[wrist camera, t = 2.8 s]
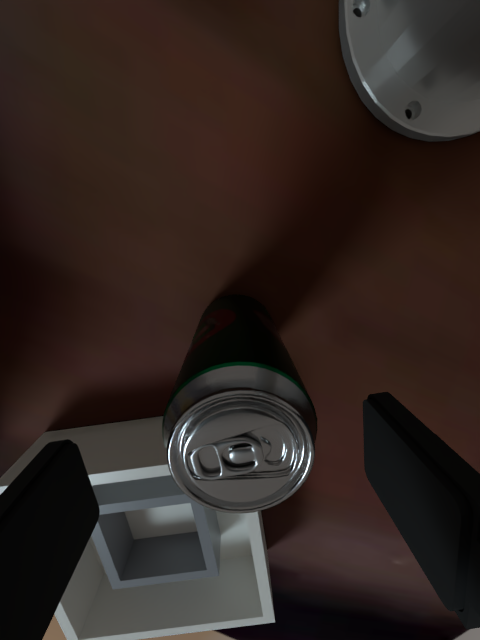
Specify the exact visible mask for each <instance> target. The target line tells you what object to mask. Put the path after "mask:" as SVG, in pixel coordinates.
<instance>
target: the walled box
mask: <svg viewBox="0 0 480 640" xmlns="http://www.w3.org/2000/svg"><path fill="white" fill-rule="evenodd" d="M162 422H163V416H160V417H152V418H145V419H138V420H130V421H123V422H116V423H108V424H101V425H94V426H86V427H79V428H72V429H64V430H57V431H49V432H44V433H43V434H42V435H41V437H40V438H39V439H38V440H37V441H36V442H35V443H34V444H33V445H32V446H31V447H30V448H29V449H28V450H27V451H26V452H25V453H24V454H23V455H22V456H21V457H20V458H19V459H18V460H17V461H16V462H15V463H14V464H13V465H12V467H11V468H10V469H9V470H8V471H7V472H6V473H5V474H4V475H3V476H2V477H1V478H0V495H1V493H2V492H3V491H4V490H5V489H6V488H7V487H8V486H9V485H10V484H11V482H12V481H13V480H14V479H15V478H16V477H17V476H18V475H19V474H20V473H21V472H22V470H23V469H24V468H25V467H26V466H27V465H28V464H29V463H30V462H31V461H32V459H33V458H34V457H35V456H36V455H37V454H38V453H39V452H40V451H41V450H42V449H43V447H44V446H45V445H46V444H48V443H49V442H53V441H60V440H66V439H69V440H71V441H72V442H73V443H76V444H77V445H78V447H79V450H80V453H81V456H82V459H83V462H84V465H85V468H86V470H87V473H88V476H89V479H90V482H91V485H92V488H93V491H94V494H95V496H96V499H97V502H98V505H99V509H100V514H99V519H98V522H97V524H96V526H95V528H94V530H93V532H92V535H91V537H90V539H89V541H88V543H87V545H86V547H85V549H84V552H83V554H82V556H81V558H80V560H79V562H78V564H77V566H76V569H75V571H74V573H73V575H72V577H71V579H70V581H69V583H68V586H67V588H66V590H65V592H64V594H63V596H62V598H61V600H60V603H59V605H58V607H57V609H56V611H55V613H54V614H55V616H56V618H57V620H58V622H59V624H60V626H61V628H62V630H63V632H64V634H65V636H66V638H67V640H137V639H145V638H153V637H161V636H169V635H177V634H185V633H193V632H201V631H208V630H217V629H225V628H233V627H241V626H249V625H257V624H265V623H273V622H275V617H274V608H273V599H272V590H271V581H270V572H269V563H268V554H267V547H266V540H265V534H264V527H263V521H262V514H261V511H257V512H252V513H243V514H242V513H226V512H220V511H216V510H212V509H210V508H207V507H205V506H202V505H200V504H199V503H197V502H195V501H193V500H192V499H191V498H189V497H188V496H187V495H186V494H184V492H183V491H182V490H181V489H180V488H179V487H178V486H177V484H176V483H175V481H174V480H173V478H172V476H171V473H170V471H169V468H168V463H167V452H166V448H165V446H164V441H163V436H162Z"/></svg>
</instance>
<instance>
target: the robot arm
mask: <svg viewBox="0 0 480 640" xmlns="http://www.w3.org/2000/svg"><path fill="white" fill-rule="evenodd" d="M339 34H340V41H341V48H342V54H343V59H344V62H345V65H346V68H347V71H348V74H349V77H350V80H351V82H352V84H353V86H354V88H355V89H356V91H357V93H358V95H359V97H360V99H361V101H362V102H363V103H364V104H365V105H366V107H367V108H368V109H369V110H370V111H371V113H372V114H373V115H374V116H375V117H376V118H377V119H378V120H380V121H381V122H382V123H384V124H385V125H386V126H387V127H389V128H390V129H391V130H393V131H396V132H398V133H400V134H402V135H405V136H407V137H409V138H413V139H418V140H424V141H429V142H431V141H451V140H455V139H458V138H462V137H466V136H470V135H473V134H475V133H477V132H479V131H480V0H339ZM405 113H406V114H405ZM406 115H407V117H406ZM363 425H364V464H365V472H366V475H367V478H368V480H369V482H370V483H371V485H372V487H373V488H374V490H375V492H376V493H377V495H378V497H379V498H380V500H381V502H382V503H383V505H384V507H385V508H386V510H387V512H388V513H389V515H390V517H391V518H392V520H393V522H394V523H395V525H396V527H397V528H398V530H399V531H400V533H401V535H402V536H403V538H404V540H405V541H406V543H407V545H408V546H409V548H410V550H411V551H412V553H413V555H414V556H415V558H416V560H417V561H418V563H419V565H420V566H421V568H422V570H423V571H424V573H425V575H426V576H427V578H428V580H429V581H430V583H431V585H432V586H433V588H434V589H435V591H436V593H437V594H438V596H439V598H440V599H441V601H442V603H443V604H444V606H445V607H446V608H447V609H448V610H449V611H455V612H456V614H457V615H458V617H459V618H460V620H461V622H462V623H463V625H464V626H465V628H466V629H473V628H479V627H480V474H479V473H478V472H477V471H476V470H475V469H474V468H472V467H471V466H470V465H469V464H468V463H467V462H466V461H465V460H464V459H462V458H461V457H460V456H459V455H458V454H457V453H456V452H455V451H454V450H452V449H451V448H450V447H449V446H448V445H447V444H446V443H445V442H444V441H443V440H441V439H440V438H439V437H438V436H437V435H436V434H434V433H433V432H432V431H431V430H430V429H429V428H427V427H426V426H425V425H424V424H423V423H422V422H421V421H420V420H419V419H418V418H416V417H415V416H414V415H413V414H412V413H411V412H410V411H409V410H408V409H407V408H405V407H404V406H403V405H402V404H401V403H400V402H399V401H398V400H397V399H395V398H394V397H393V396H392V395H391V394H390V393H388V392H383V393H376V394H370V395H368V399H367V400H364V401H363ZM99 514H100V509H99V505H98V502H97V499H96V496H95V494H94V491H93V488H92V485H91V482H90V479H89V476H88V473H87V470H86V468H85V465H84V462H83V459H82V456H81V453H80V450H79V447H78V445H77V444H76V443H73V442H72V441H71V440H69V439H66V440H60V441H53V442H49V443H48V444H46V445H45V446H44V447H43V449H42V450H41V451H40V452H39V453H38V454H37V455H36V456H35V457H34V458H33V459H32V461H31V462H30V463H29V464H28V465H27V466H26V467H25V468H24V469H23V470H22V472H21V473H20V474H19V475H18V476H17V477H16V478H15V479H14V480H13V481H12V482H11V484H10V485H9V486H8V487H7V488H6V489H5V490H4V491H3V492H2V493H1V495H0V640H42V639H43V636H44V634H45V632H46V630H47V628H48V626H49V624H50V621H51V620H52V617H53V615H54V613H55V611H56V609H57V607H58V605H59V603H60V600H61V598H62V596H63V594H64V592H65V590H66V588H67V586H68V583H69V581H70V579H71V577H72V575H73V573H74V571H75V569H76V566H77V564H78V562H79V560H80V558H81V556H82V554H83V552H84V549H85V547H86V545H87V543H88V541H89V539H90V537H91V535H92V532H93V530H94V528H95V526H96V524H97V522H98V519H99Z"/></svg>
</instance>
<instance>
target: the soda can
mask: <svg viewBox="0 0 480 640" xmlns="http://www.w3.org/2000/svg"><path fill="white" fill-rule="evenodd" d="M316 434H317V417H316V412H315V408H314V406H313V403H312V401H311V399H310V397H309V395H308V393H307V391H306V388H305V386H304V384H303V382H302V380H301V378H300V376H299V374H298V372H297V370H296V368H295V366H294V364H293V362H292V360H291V358H290V356H289V354H288V351H287V349H286V347H285V345H284V343H283V341H282V339H281V337H280V335H279V333H278V331H277V329H276V327H275V325H274V323H273V321H272V319H271V317H270V314H269V313H268V311H267V310H266V308H265V307H264V306H263V305H262V304H261V303H259V302H258V301H257V300H255V299H253V298H251V297H248V296H245V295H228V296H224V297H221V298H219V299H217V300H215V301H214V302H212V303H211V304H210V305H209V306H208V307H207V308H206V310H205V311H204V313H203V315H202V317H201V319H200V322H199V324H198V327H197V329H196V332H195V334H194V337H193V340H192V342H191V345H190V347H189V350H188V352H187V355H186V357H185V360H184V363H183V365H182V368H181V370H180V373H179V375H178V378H177V380H176V383H175V386H174V388H173V391H172V393H171V396H170V398H169V401H168V403H167V406H166V409H165V412H164V415H163V422H162V436H163V441H164V446H165V448H166V452H167V463H168V468H169V471H170V473H171V476H172V478H173V480H174V481H175V483H176V484H177V486H178V487H179V488H180V489H181V490H182V491H183V492H184V494H186V495H187V496H188V497H189V498H191V499H192V500H193V501H195V502H197V503H199V504H200V505H202V506H205V507H207V508H210V509H212V510H216V511H220V512H226V513H242V514H243V513H252V512H257V511H262V510H265V509H268V508H271V507H274V506H276V505H278V504H280V503H282V502H283V501H285V500H286V499H288V498H289V497H291V496H292V495H293V494H294V493H295V492H296V491H297V490H298V489H299V488H300V487H301V486H302V485H303V483H304V482H305V481H306V479H307V477H308V475H309V474H310V471H311V469H312V466H313V462H314V456H315V444H314V443H315V440H316Z"/></svg>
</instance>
